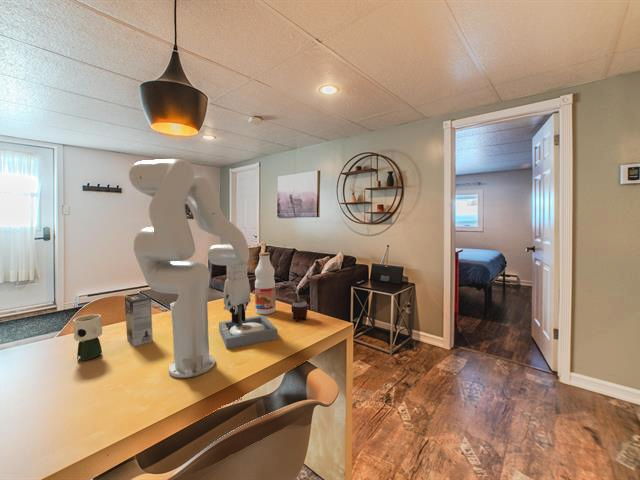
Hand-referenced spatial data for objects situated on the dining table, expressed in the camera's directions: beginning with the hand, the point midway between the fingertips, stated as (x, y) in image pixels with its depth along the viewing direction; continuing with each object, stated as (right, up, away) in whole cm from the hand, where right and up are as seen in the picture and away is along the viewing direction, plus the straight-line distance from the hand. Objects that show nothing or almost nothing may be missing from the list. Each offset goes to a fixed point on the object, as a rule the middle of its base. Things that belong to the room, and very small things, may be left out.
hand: (238, 321), depth 114 cm
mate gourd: (+22, -3, +14) cm, 27 cm away
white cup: (-25, -4, +6) cm, 26 cm away
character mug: (-42, -6, -20) cm, 47 cm away
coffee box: (-34, -5, -7) cm, 35 cm away
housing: (+4, -4, -3) cm, 6 cm away
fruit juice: (+6, -3, +25) cm, 26 cm away
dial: (+4, -3, -3) cm, 6 cm away
